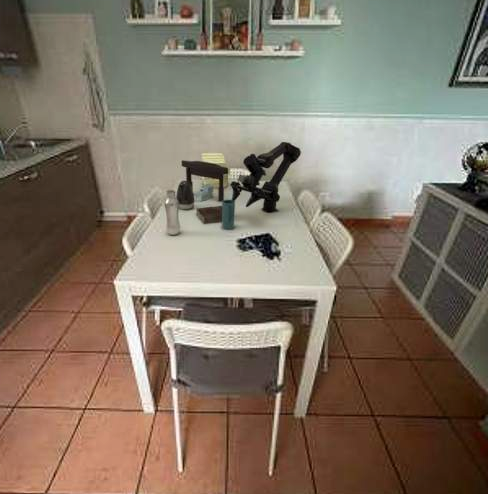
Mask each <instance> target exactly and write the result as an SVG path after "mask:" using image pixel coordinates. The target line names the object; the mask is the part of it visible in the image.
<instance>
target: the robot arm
mask: <svg viewBox="0 0 488 494" xmlns="http://www.w3.org/2000/svg"><path fill="white" fill-rule="evenodd" d="M301 154H302V152H301V149H300V147H297V146H295V145H293V144H292V143H291V142H287V141H282V142H280V144H278V145H277V146H275V147H274V148H272V149H271V150H269V152H263V153H261V154H259V155H256V154H255V153H251V154H250V155H247V156H246V157H245V158H244V159H243V162H242V163H243V165H244V167H245V168H246V170H247V171H248V172H249V175H248V174H247V175H244V174H238V179H237V181H236V180H235V181H234V180H233V181H231V183H230V184H229V186H230V187H231V189H232V195H231V200H233V201H235V202H236V200H238V198H239V196H240V195H241V194H242V192H247V193H250V197H249V199H247V202H246V204H245V208H249V207H250V206H251V205H253V204H254V203H257V202H258V201H261V200H263V204H262V208H261V211H263V212H265V213H267V214H270V213H275V212H278V209H277V203H278V202H279V201H280V198H281V195H280V194H279V185H280V184H281V182H282V180H283V178H284V177H285V175H286V173H287V172H288V170H289V168H290V167H291V165H292V164H294V163H295V162H297V160H298V159H299V158H300V157H301ZM281 156H282V160H281V162H280V164H279V166H278V167H277V169H276V171H275V172H274V174H273V175H272V178H271V179H270V180H269V181H267V180H266V181H264V183H263V185H262V186H261V188H260V187H257V186H260V181H261V179H262V177H263V176H264V177H266V176H267V173H266V169H270V168H271V167H272V166H273V165H274V163H275V161H276V160H277V159H278V158H280V157H281Z"/></svg>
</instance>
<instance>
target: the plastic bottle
mask: <svg viewBox="0 0 488 494" xmlns="http://www.w3.org/2000/svg"><path fill="white" fill-rule="evenodd" d="M163 205H164V210H165V214H166V227H165V230H166V232H167V234H168V235H171V236H174V235H175V236H176V235H178V234H180V232H181V230H182V229H181V223H180V218H179V217H180V216H179V209H180V207H179V202H178V200H177V198H176V191H175V190H174V189H169V190H167V191H166V198H165V200H164V202H163Z"/></svg>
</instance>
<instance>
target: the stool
mask: <svg viewBox="0 0 488 494" xmlns="http://www.w3.org/2000/svg"><path fill="white" fill-rule="evenodd" d="M181 167H183V168H185V177H186V180H185V181H188V182H189V184H190V185H191V187H192V190H193V191H194V188H193V187H194V185H193V183H194V182H193V180H192V179H193V177H192V176H196V177H202V178H207V179H219V187H217V189H218V193H217V194H218V196H217V199H218V202H222V201H223V200H225V187H223V174H228V168H226V167H222V166H220V165H217V164H214V163H209V162H203V160H202V161H201V160H192V161H191V160H181ZM200 187H201V188H199V189H198V190H197V192H196V199H195V201H196V203H198V202H199V203H200V202H203V201H204V202H205V201H207V199H208V200H210V198H214V196H213V193H214V187H213V185H212V184H210V183H209V184H206V185H204V184H202V185H201V186H200Z"/></svg>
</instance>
